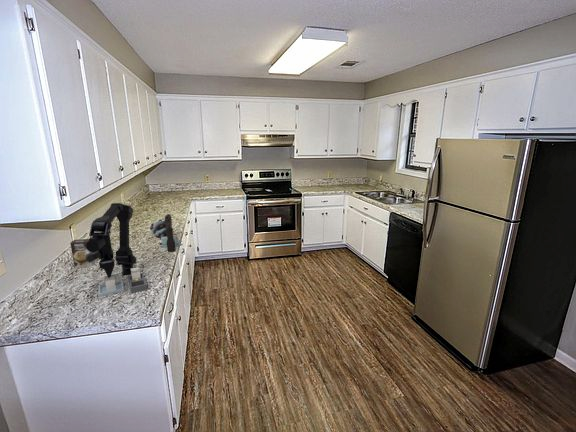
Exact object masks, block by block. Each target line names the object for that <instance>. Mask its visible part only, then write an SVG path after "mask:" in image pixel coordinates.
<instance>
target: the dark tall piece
mask: <svg viewBox="0 0 576 432" xmlns="http://www.w3.org/2000/svg"><path fill="white" fill-rule="evenodd" d="M164 220H165V223H166V234H165V236H162V237H160V238H161V242H159V246H158V247H159V248H160V249H161V248H162V249H166V248H167V253H174V252H176V248H177V247H181V246H184V245H183V243H181V242H180V240H179V238H178V237H177V236H174V232H173V230H174V229H172V228H173V226H172V225H173V221H172V215H171V214H170V213H167V214H166V215H165V216H164Z"/></svg>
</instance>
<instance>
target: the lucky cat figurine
mask: <svg viewBox="0 0 576 432" xmlns="http://www.w3.org/2000/svg"><path fill="white" fill-rule="evenodd" d="M172 229H173V227H172ZM149 230H150V231H151V232H152V234H154V237H155V238H157V239H158V238H159V239H160V238H161V237H165V236H166V223H165V219H163V220H162V219H159V220H157V221H155V222H154V223H153V222H152V223H151V224H150V226H149ZM173 230H174V229H173Z"/></svg>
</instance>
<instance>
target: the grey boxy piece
mask: <svg viewBox="0 0 576 432" xmlns="http://www.w3.org/2000/svg"><path fill="white" fill-rule="evenodd" d="M127 281H128V286H129V290H130V294H136V293H139V292H144V291H148V284H147V281H146V278H145V274H144V272H141V270H140V266H139V267H133V268H131V275H127Z"/></svg>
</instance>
